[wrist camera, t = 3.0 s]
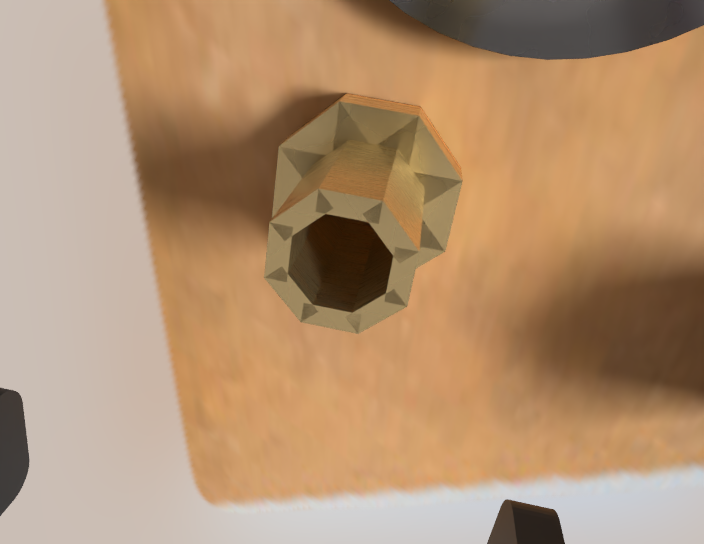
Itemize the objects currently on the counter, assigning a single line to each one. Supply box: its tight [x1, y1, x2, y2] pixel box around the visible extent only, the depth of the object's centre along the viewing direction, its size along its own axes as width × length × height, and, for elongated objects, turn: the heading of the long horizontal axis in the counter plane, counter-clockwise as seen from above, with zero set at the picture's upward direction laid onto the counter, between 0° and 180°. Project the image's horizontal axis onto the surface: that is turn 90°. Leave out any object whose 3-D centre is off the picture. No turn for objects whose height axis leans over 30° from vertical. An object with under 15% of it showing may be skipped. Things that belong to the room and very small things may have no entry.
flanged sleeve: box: [264, 93, 462, 334], centre depth 21 cm, size 7×7×8 cm
